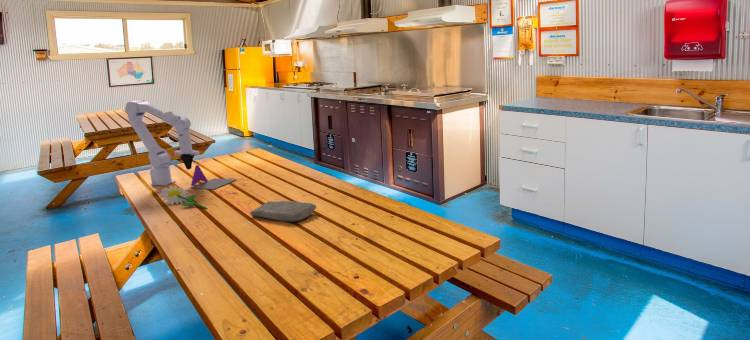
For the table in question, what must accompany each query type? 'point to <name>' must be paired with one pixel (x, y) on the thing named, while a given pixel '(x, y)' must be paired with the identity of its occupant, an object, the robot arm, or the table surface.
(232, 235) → the table surface
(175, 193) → the decorative flower
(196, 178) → the arrowhead
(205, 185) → the mat
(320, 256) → the table surface
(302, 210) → the stone
